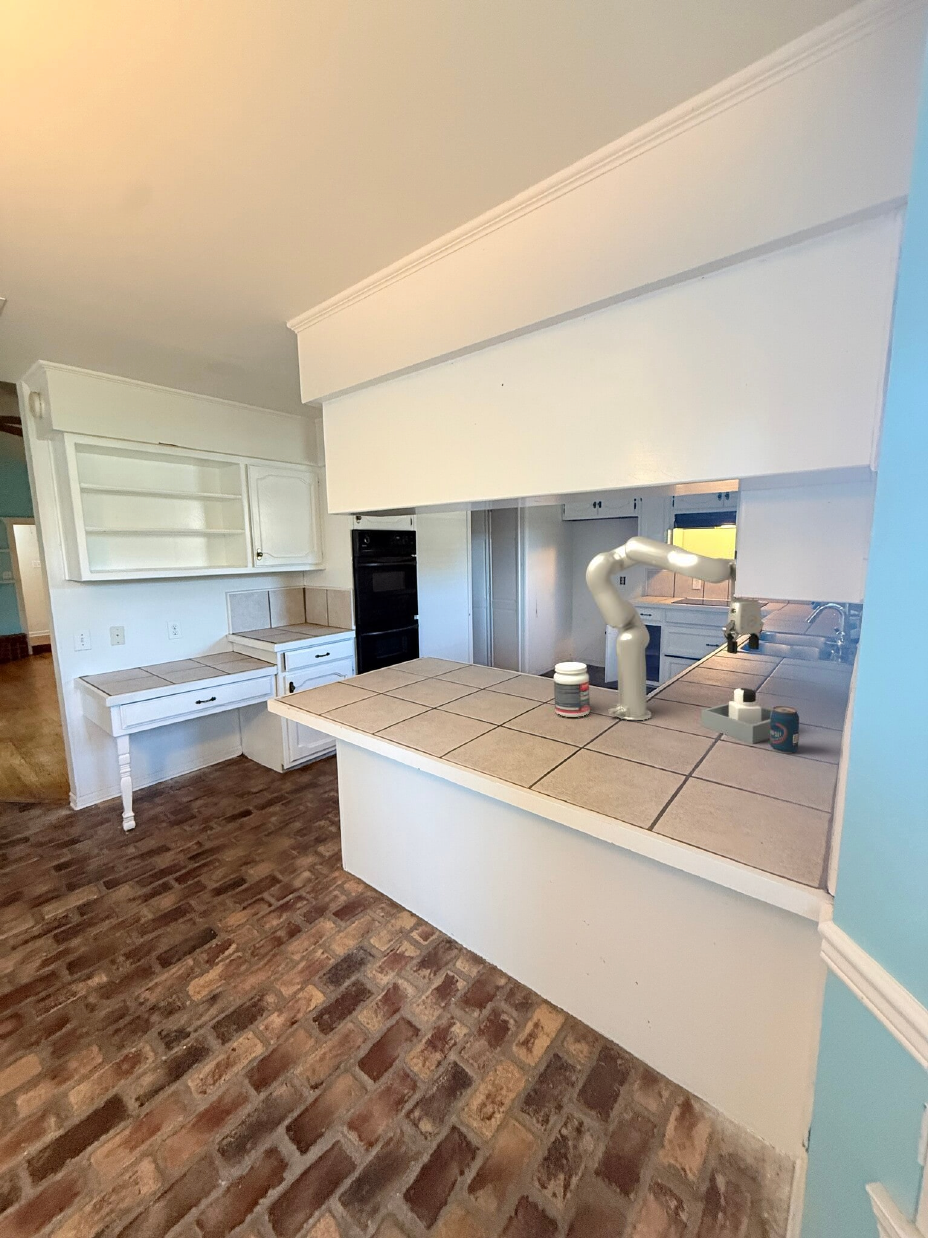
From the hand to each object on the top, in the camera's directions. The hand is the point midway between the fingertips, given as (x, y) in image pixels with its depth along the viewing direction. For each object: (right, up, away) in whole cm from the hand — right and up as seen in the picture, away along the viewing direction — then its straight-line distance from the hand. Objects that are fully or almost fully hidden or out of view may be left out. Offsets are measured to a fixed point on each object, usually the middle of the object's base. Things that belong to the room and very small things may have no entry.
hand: (742, 651), depth 156 cm
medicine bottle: (+2, -24, +2) cm, 25 cm away
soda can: (+4, -28, -14) cm, 31 cm away
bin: (+2, -25, +2) cm, 25 cm away
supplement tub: (-48, -25, +27) cm, 61 cm away
